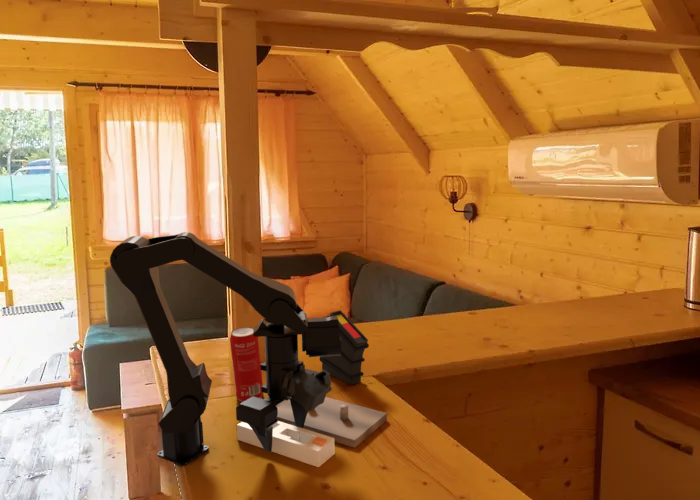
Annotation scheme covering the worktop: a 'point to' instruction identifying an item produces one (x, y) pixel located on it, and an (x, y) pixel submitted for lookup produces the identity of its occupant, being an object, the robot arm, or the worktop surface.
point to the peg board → (337, 420)
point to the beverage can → (246, 363)
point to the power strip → (293, 442)
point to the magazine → (347, 352)
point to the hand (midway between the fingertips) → (284, 439)
